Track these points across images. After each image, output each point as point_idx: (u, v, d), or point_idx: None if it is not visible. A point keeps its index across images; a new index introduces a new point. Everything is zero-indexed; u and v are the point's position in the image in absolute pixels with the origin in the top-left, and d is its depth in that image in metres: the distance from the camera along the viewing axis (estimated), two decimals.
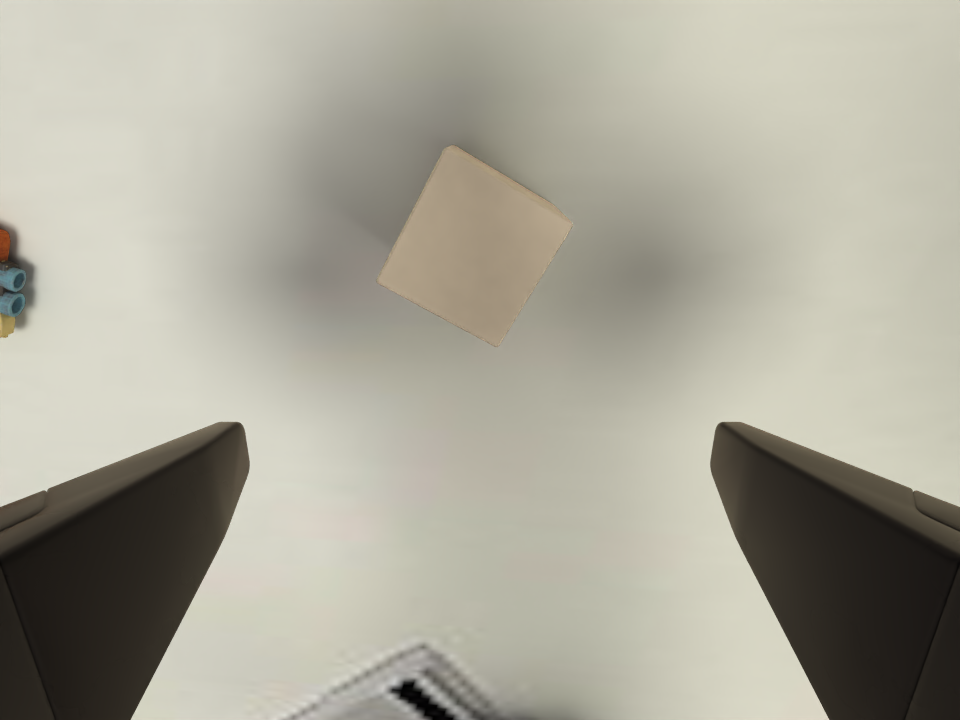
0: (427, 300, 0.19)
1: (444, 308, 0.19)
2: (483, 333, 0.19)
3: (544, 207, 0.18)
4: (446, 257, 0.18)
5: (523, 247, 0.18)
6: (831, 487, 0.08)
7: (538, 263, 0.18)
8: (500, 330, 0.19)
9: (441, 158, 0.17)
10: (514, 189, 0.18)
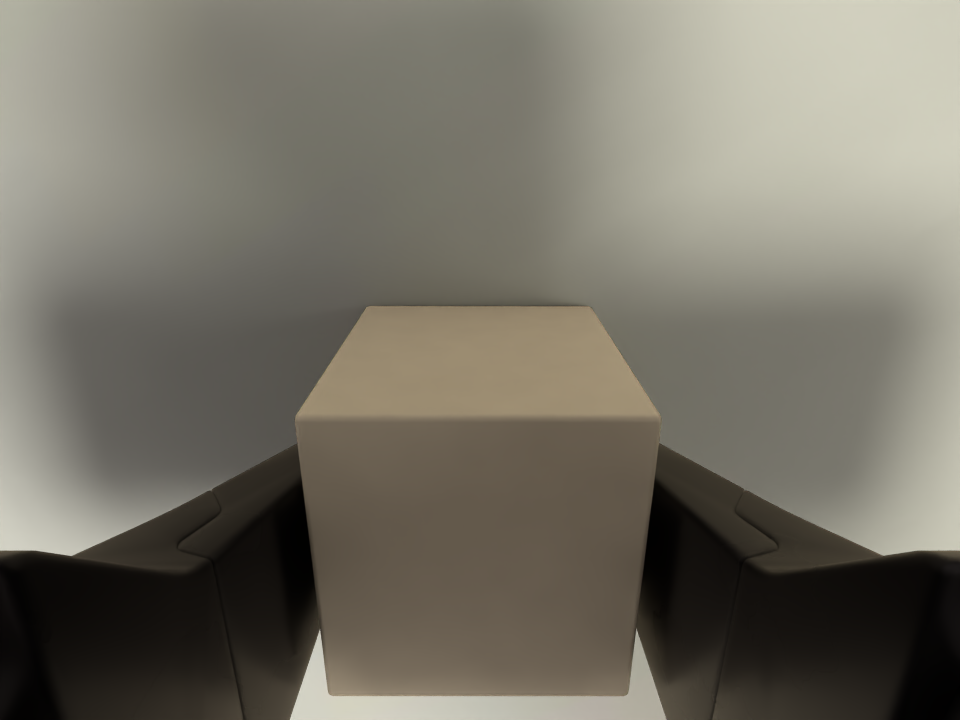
0: (442, 683, 0.09)
1: (483, 681, 0.09)
2: (585, 687, 0.09)
3: (576, 417, 0.07)
4: (429, 600, 0.08)
5: (576, 513, 0.08)
6: (665, 487, 0.08)
7: (626, 525, 0.08)
8: (616, 668, 0.09)
9: (300, 440, 0.07)
10: (489, 417, 0.07)
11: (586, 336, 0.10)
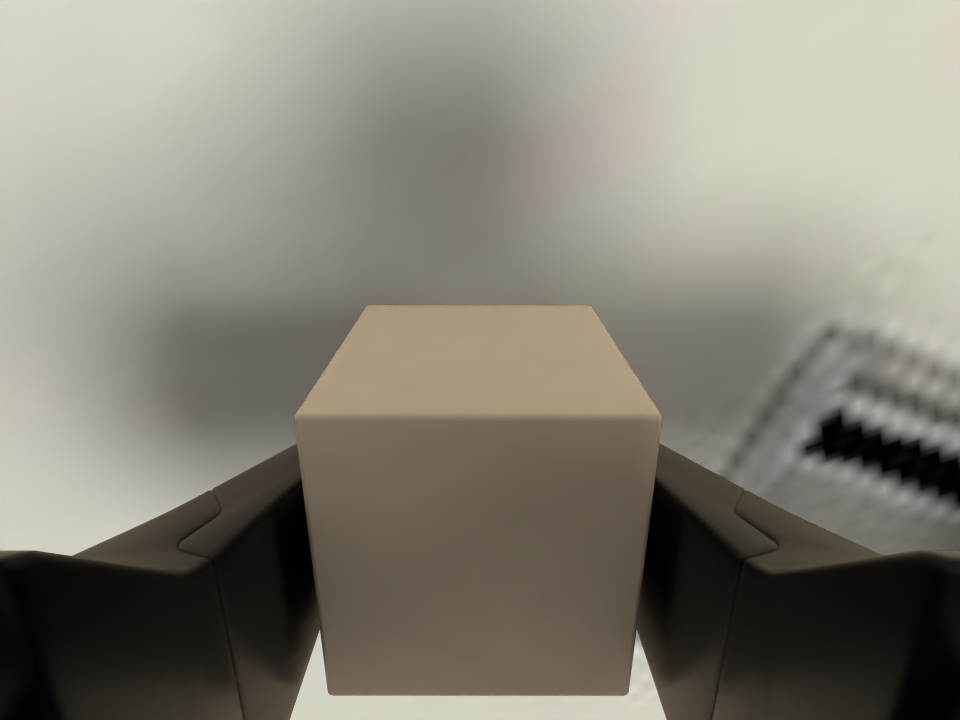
0: (442, 683, 0.09)
1: (483, 680, 0.09)
2: (585, 686, 0.09)
3: (576, 416, 0.07)
4: (429, 600, 0.08)
5: (577, 512, 0.08)
6: (665, 487, 0.08)
7: (626, 525, 0.08)
8: (616, 667, 0.09)
9: (300, 439, 0.07)
10: (489, 416, 0.07)
11: (586, 335, 0.10)
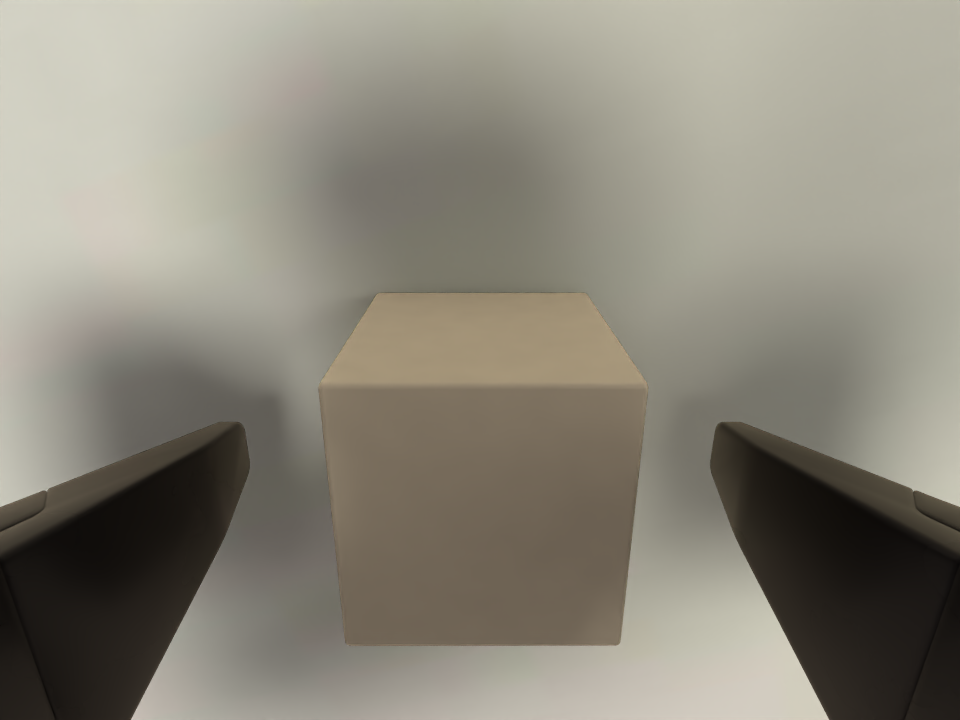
0: (450, 633, 0.09)
1: (487, 631, 0.09)
2: (581, 636, 0.10)
3: (571, 385, 0.08)
4: (438, 555, 0.09)
5: (572, 473, 0.08)
6: (831, 487, 0.08)
7: (617, 484, 0.08)
8: (609, 619, 0.09)
9: (323, 406, 0.08)
10: (493, 385, 0.08)
11: (582, 318, 0.11)
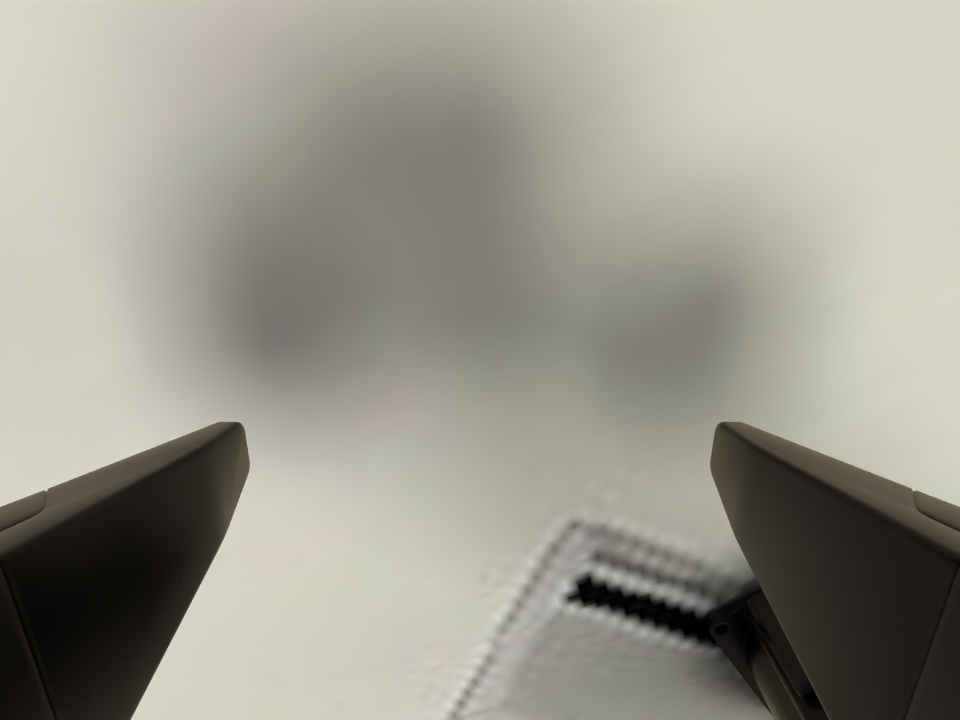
0: None
1: None
2: None
3: None
4: None
5: None
6: (831, 487, 0.08)
7: None
8: None
9: None
10: None
11: None
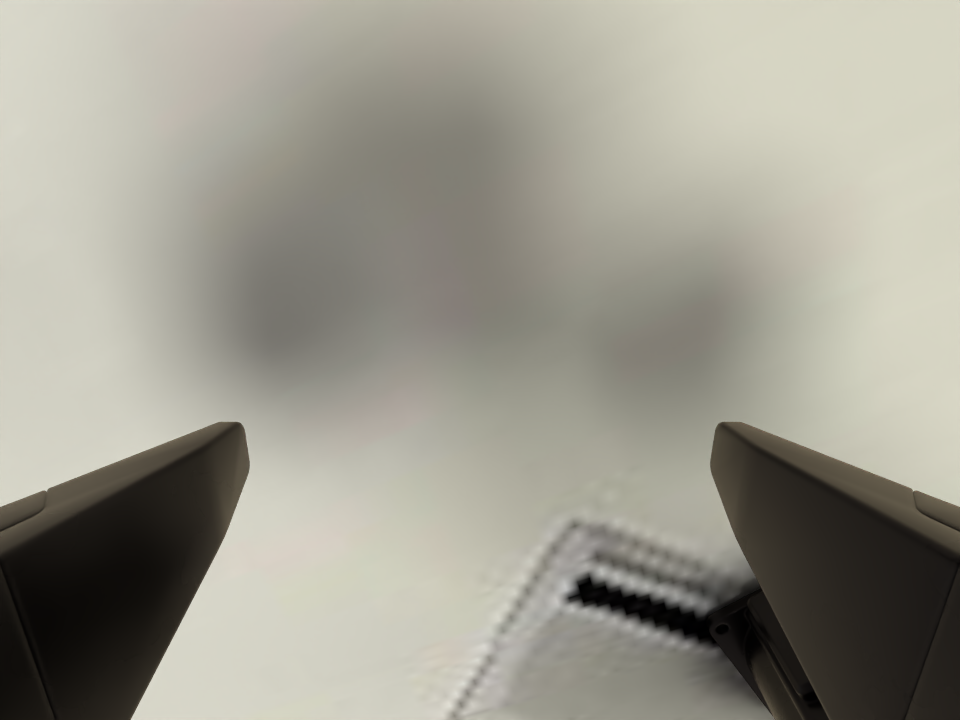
0: None
1: None
2: None
3: None
4: None
5: None
6: (831, 487, 0.08)
7: None
8: None
9: None
10: None
11: None
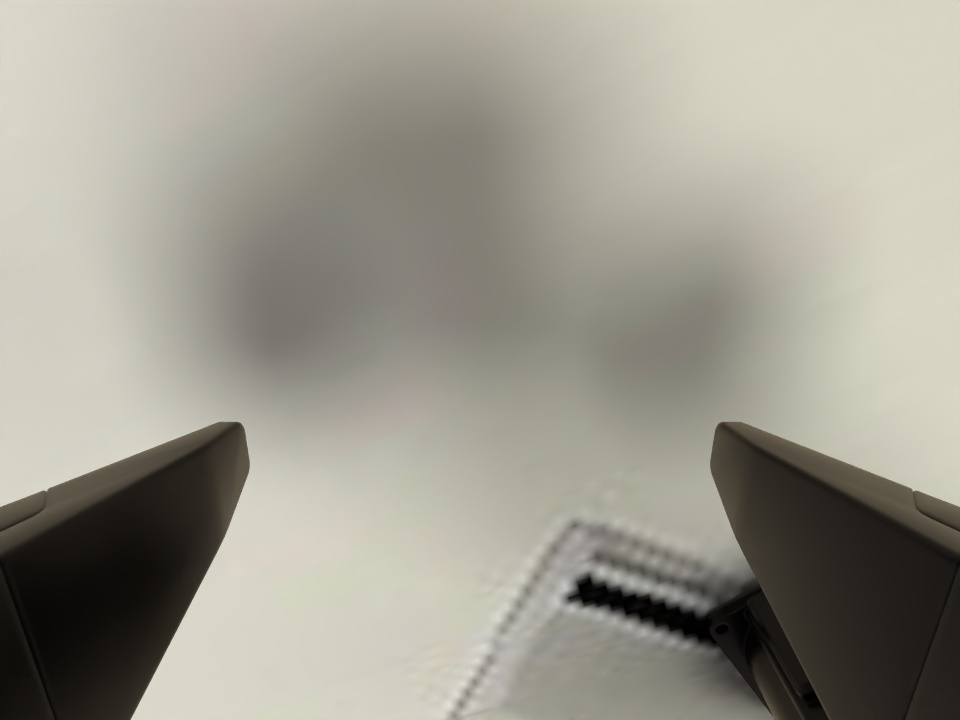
0: None
1: None
2: None
3: None
4: None
5: None
6: (831, 487, 0.08)
7: None
8: None
9: None
10: None
11: None
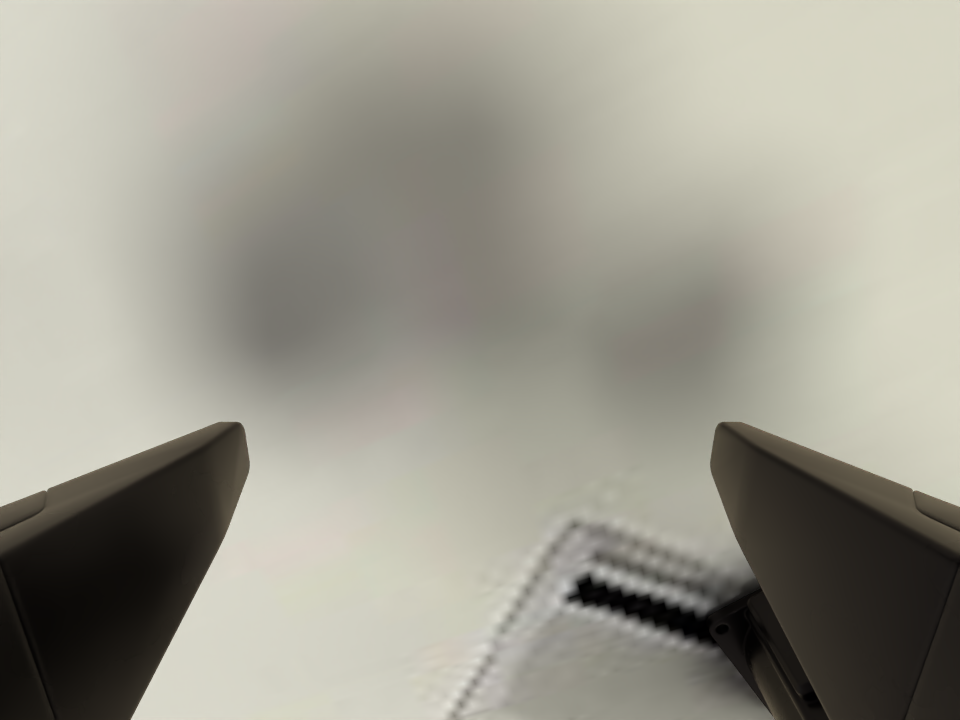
0: None
1: None
2: None
3: None
4: None
5: None
6: (831, 487, 0.08)
7: None
8: None
9: None
10: None
11: None
